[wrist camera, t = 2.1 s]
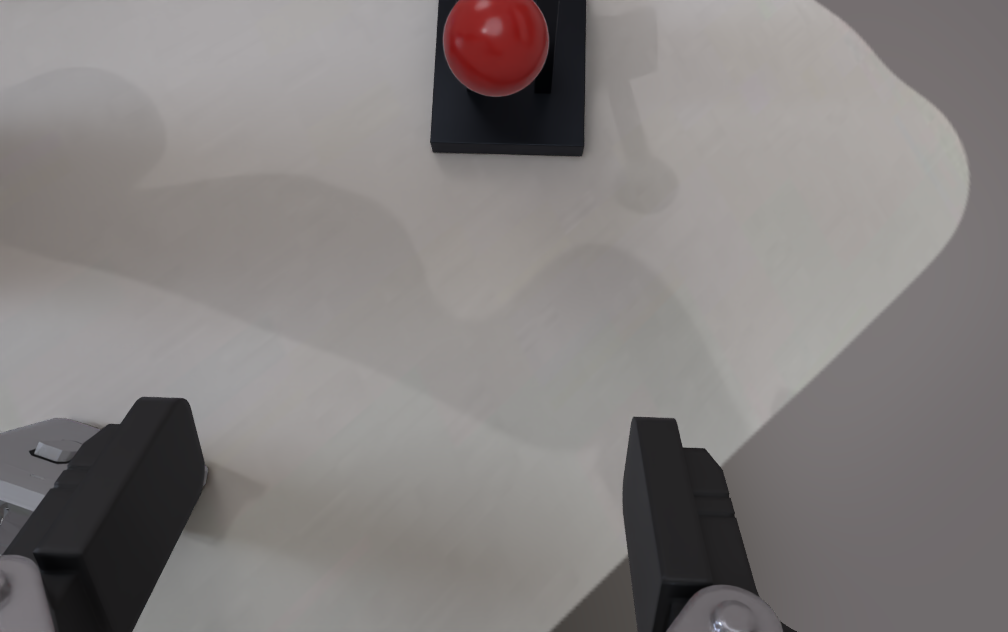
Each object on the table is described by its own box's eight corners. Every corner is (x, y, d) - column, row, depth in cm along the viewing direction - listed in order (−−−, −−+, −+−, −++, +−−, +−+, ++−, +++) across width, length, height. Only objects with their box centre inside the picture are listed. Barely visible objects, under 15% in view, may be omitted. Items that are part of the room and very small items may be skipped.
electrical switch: (217, 467, 43) (129, 480, 34) (185, 558, 43) (87, 598, 33) (64, 415, 44) (-63, 415, 35) (30, 504, 43) (-107, 528, 34)
